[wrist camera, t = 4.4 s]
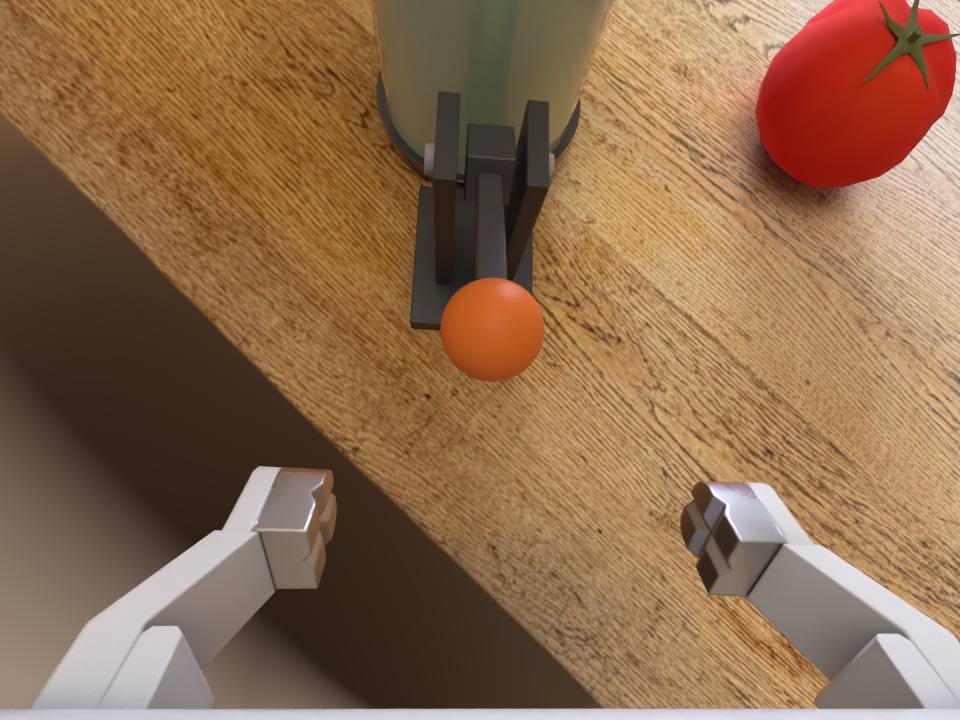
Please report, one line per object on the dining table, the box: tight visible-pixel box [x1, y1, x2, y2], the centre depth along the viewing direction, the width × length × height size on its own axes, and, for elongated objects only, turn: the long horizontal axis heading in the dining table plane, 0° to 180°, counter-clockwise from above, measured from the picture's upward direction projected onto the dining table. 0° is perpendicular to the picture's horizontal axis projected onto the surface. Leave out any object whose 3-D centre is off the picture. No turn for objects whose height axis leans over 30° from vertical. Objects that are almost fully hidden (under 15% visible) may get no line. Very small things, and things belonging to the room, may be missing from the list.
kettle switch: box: [441, 123, 544, 381], centre depth 19 cm, size 13×4×4 cm, turn 178°
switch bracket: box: [410, 91, 555, 329], centre depth 26 cm, size 10×8×13 cm
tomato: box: [755, 0, 960, 188], centre depth 32 cm, size 11×13×10 cm
